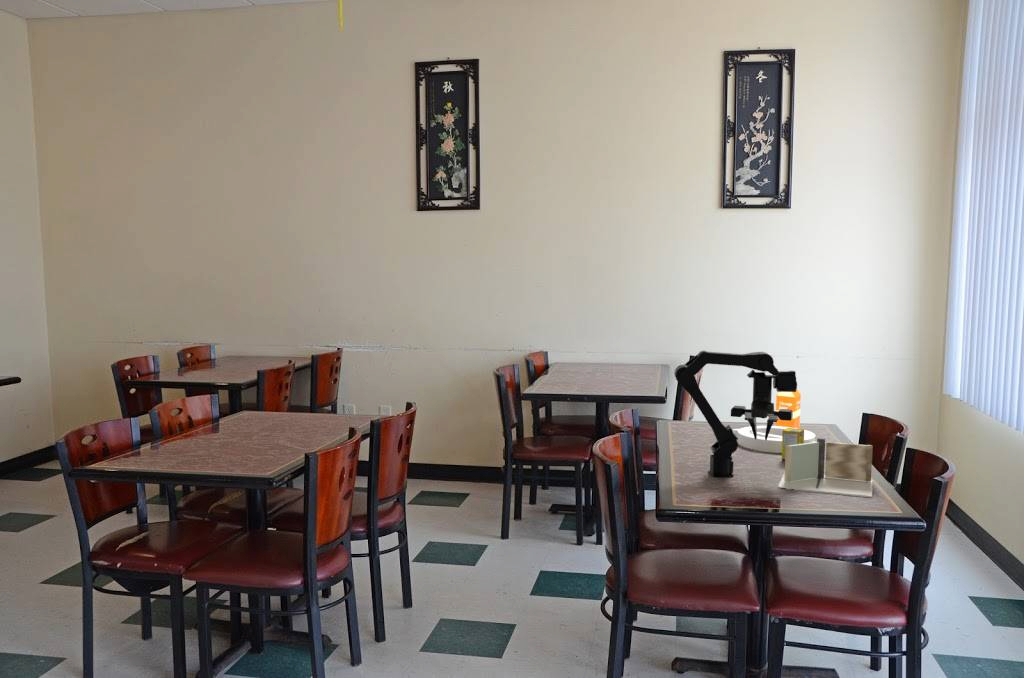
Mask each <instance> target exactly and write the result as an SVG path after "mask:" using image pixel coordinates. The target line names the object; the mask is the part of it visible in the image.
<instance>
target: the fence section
mask: <svg viewBox="0 0 1024 678" xmlns="http://www.w3.org/2000/svg"><path fill="white" fill-rule="evenodd" d="M816 442H819V461H818V477H817V478H821V479H822V478H824V475H825V477H828V478H838V479H849V480H859V481H867V482H871V479H872V470H873V469H872V466H873V465H872V464H873V447H874V445H872V444H857V443H845V442H835V441H834V442H833V441H832V442H831V441H826V439H825V438H823V437H822V438H821V437H817V438H816Z"/></svg>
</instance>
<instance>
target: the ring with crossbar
mask: <svg viewBox="0 0 1024 678" xmlns="http://www.w3.org/2000/svg"><path fill="white" fill-rule="evenodd" d="M756 426H757V439H755V437H754V434H753V431H752V428H751V426H746V427H741V428H733V429H732V431H733V433H734V434H735V435H736V436H737V438H738V439H737V442H738V446H740V445H741V447H742V446H743V447H742V448H745V447H746V448H745V449H748V448H750V449H749V450H752V449H753V451H757V450H758V451H759V452H765V453H774V454H775V453H778V454H782V432H783V430H784V429H786V428H791V427H782V426H775V425H772V427H771V429H770V432H769V435H768V437H767V440H765V434H766V427H767V425H756ZM795 429H798V428H795ZM816 439H817V438H816V434H815V433H814V432H812V431H809V430H807V429H804V443H811V442H816ZM758 451H757V452H758Z"/></svg>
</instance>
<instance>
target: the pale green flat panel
mask: <svg viewBox="0 0 1024 678" xmlns="http://www.w3.org/2000/svg"><path fill="white" fill-rule="evenodd" d="M818 461H819V442H817V441H815V442H811V443H804V444H796V445H787V446H785V461H784V472H785V476H784V481H785V482H791V481H798V480H804V479H810V478H817V477H818Z"/></svg>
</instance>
